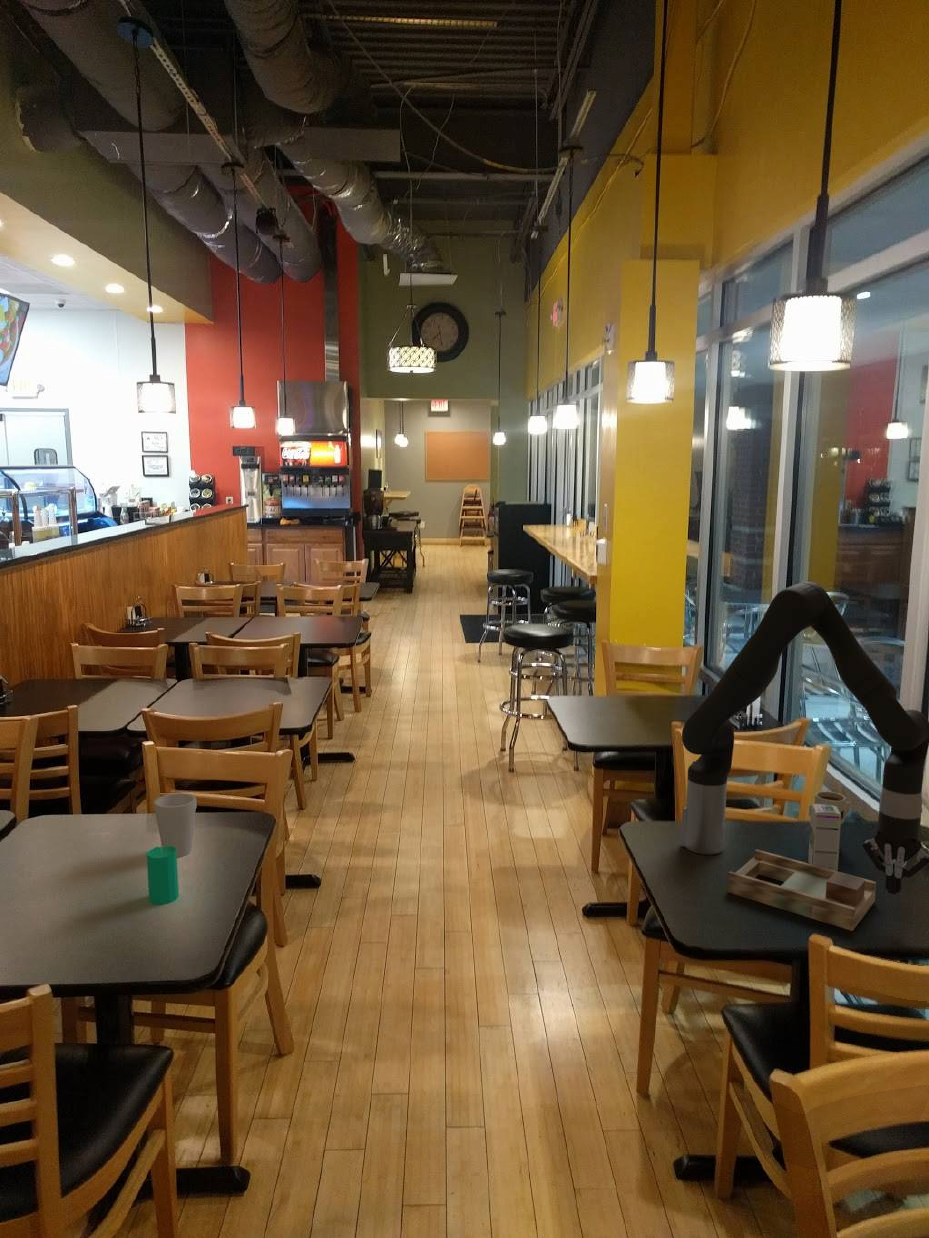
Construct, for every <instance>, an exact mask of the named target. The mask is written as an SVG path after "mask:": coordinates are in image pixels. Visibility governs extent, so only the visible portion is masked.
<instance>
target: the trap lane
mask: <svg viewBox="0 0 929 1238" xmlns="http://www.w3.org/2000/svg"><path fill="white" fill-rule="evenodd" d="M753 853H754V855H753V857H752V858H751V859H750V860H749V861H747V862H746V863H745V864H744V865H743V866H742V867H740V868H739V869H738V870H736V872H735V871H731V870H729V871H728V877H727V889H726V890H727V891H726V893H729V894H732V895H735V896H739V897H742V898H745V899H749V900H752V901H754V902H758V903H762V904H765V905H768V906H771V907H774V908H777V909H780V910H783V911H787V912H789V913H794V914H796V915H800V916H802V917H806V918H808V919H813V920H816V921H820V922H823V923H825V924H829V925H830V926H831V925H833V926H835V927H839V928H842V929H845V930H847V931H851V932H853V931H854V930H855V929H856V927H857V926H858V924H859V923H860V922H861V920H863V918H864V916H865V915H866V914H867V913H868V911H869V910H870V909H871V907H872V906H873V905H874V903H875V902H876V901H875V900H876V892H877V891H876V890H877V881H874V880H871V879H866V878H863V877H860V876H855V875H852V874H848V873H844V872H841V871H834V870H830V869H827V868H823V867H819V866H816V865H812V864H809V862H804V861H801V860H797V859H793V858H790V857H787V856H784V855H780V854H776V853H775V854H774V853H772V852H768V851H764V850H761V849H755V850H754V852H753ZM835 872H838V873H842V874H846V875H849V876H853V877H857V878H860V879H864V880H865V891H864V896H863V898H862V899H861V900H860V901H859V903H858V904H857V905H856V906H853V905H850V904H846V903H843V902H840V901H836V900H833V899H829V898H826V897H825V896H826V883H827V881H828V879H829V878H830V877H831V876H832V875H833V874H834V873H835ZM758 876H762V877H767V878H768V879H773V880H776V881H780V882H783V883H782V884H781V885H778V884H776V883H772V882H769V881H765V880H761V879H758V878H757V877H758Z"/></svg>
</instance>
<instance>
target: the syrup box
mask: <svg viewBox="0 0 929 1238" xmlns="http://www.w3.org/2000/svg"><path fill="white" fill-rule="evenodd" d="M811 804H812V805H811ZM811 804H810V805H811V817H810V819H809V820H810V824H809V840H808V841H809V842H808V857H807V858H808V859H807V863H809V864H812V865H816V866H819V867H823V868H827V869H830V870H834V871H838V870H839V857H840V855H839V854H840V848H839V843H840V844H841V825H842V824H841V814H840V812H839V810H838V808H837V806H835V805H829V804H814V803H811ZM840 824H841V825H840ZM838 872H839V871H838Z"/></svg>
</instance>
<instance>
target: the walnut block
mask: <svg viewBox="0 0 929 1238" xmlns="http://www.w3.org/2000/svg"><path fill="white" fill-rule="evenodd" d="M838 872H839V871H838ZM838 872H835V873H834V874H833V875H832V876H831V877H830V878H829V879H828V881H827V883H826V896H825V897H826V898H829V899H833V900H836V901H840V902H843V903H846V904H850V905H853V906H856V905H857V904H858V903H859V901H860V900H861V899H862V898H863V896H864V891H865V880H864V879H865V878H863V879H860V878H861V877H860V878H857V877H858V876H856V877H853V876H854V875H852V876H849V875H850V874H849V875H846V874H847V873H845V874H842V873H843V872H841V873H838Z"/></svg>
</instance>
